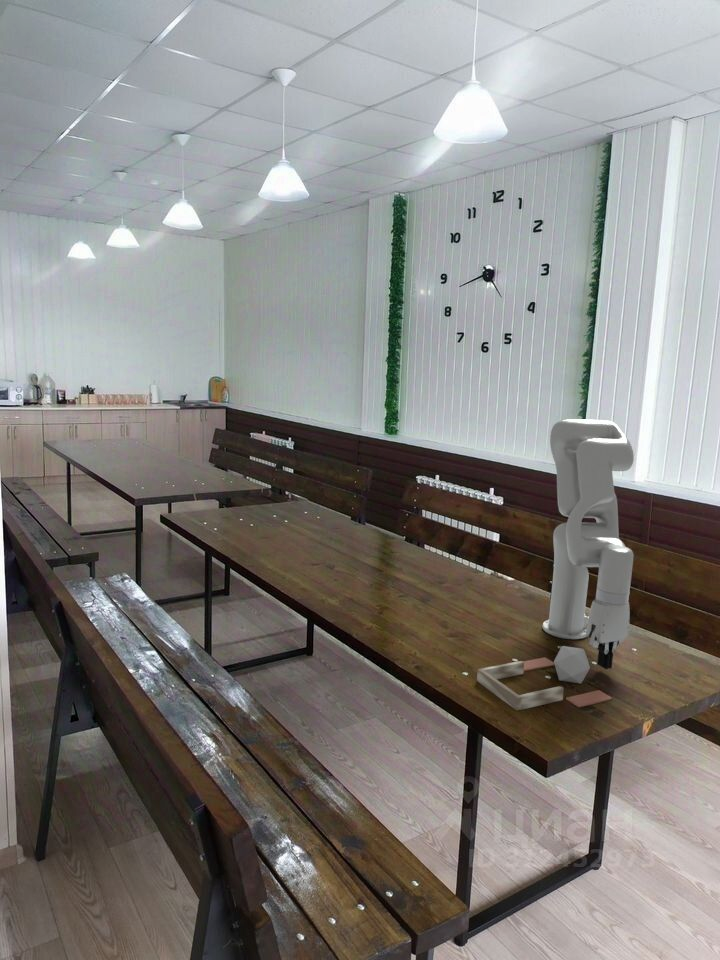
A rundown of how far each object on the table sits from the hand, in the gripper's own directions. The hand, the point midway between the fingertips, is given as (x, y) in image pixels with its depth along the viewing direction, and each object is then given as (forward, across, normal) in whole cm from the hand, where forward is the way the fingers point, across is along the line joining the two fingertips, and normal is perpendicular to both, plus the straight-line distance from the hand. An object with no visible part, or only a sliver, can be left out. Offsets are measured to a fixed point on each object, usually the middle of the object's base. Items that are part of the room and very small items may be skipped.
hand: (604, 666), depth 177 cm
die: (+2, +11, 0) cm, 11 cm away
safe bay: (+2, +26, 0) cm, 26 cm away
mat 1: (+2, +14, -10) cm, 17 cm away
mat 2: (+2, +14, +9) cm, 17 cm away
